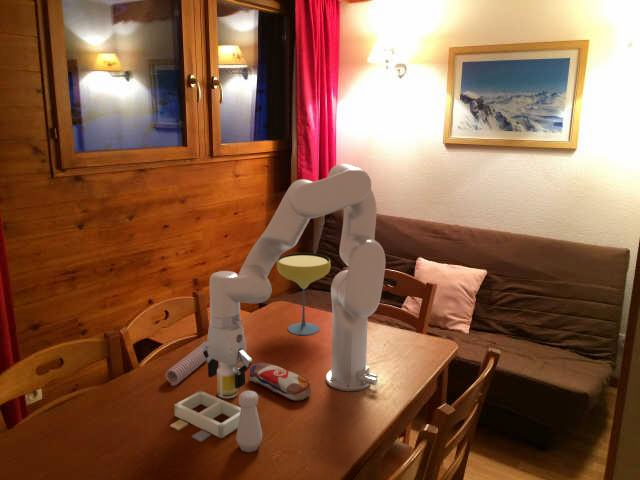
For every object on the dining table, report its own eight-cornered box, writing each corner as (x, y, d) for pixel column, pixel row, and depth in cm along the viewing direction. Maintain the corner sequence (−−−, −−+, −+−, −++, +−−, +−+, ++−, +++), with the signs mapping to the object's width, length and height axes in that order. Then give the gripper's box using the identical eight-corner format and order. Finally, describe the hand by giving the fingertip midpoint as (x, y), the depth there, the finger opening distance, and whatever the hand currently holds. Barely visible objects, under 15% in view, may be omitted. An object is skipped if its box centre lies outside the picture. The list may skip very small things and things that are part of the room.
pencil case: (279, 410, 133) (279, 392, 132) (244, 379, 148) (244, 362, 147) (316, 398, 139) (316, 381, 138) (279, 369, 155) (278, 353, 153)
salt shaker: (237, 439, 120) (235, 387, 117) (262, 438, 121) (261, 386, 118) (235, 455, 115) (234, 401, 112) (262, 454, 115) (261, 400, 112)
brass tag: (188, 425, 126) (188, 423, 126) (178, 430, 123) (178, 429, 123) (180, 420, 127) (179, 419, 127) (170, 426, 125) (170, 425, 125)
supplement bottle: (242, 392, 141) (241, 358, 139) (228, 401, 136) (227, 366, 134) (227, 386, 144) (226, 353, 141) (213, 395, 139) (211, 361, 137)
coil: (178, 373, 142) (212, 346, 159) (163, 368, 144) (198, 342, 160) (178, 388, 144) (211, 360, 160) (163, 384, 145) (197, 356, 162)
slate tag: (210, 435, 122) (210, 434, 121) (201, 442, 119) (200, 440, 119) (201, 431, 123) (201, 429, 123) (191, 437, 121) (191, 436, 121)
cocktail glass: (337, 324, 188) (338, 256, 182) (316, 343, 172) (317, 269, 166) (292, 316, 195) (292, 250, 189) (267, 334, 179) (266, 262, 173)
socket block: (247, 421, 127) (246, 410, 127) (221, 438, 121) (221, 426, 120) (200, 401, 136) (200, 390, 136) (174, 415, 129) (174, 404, 129)
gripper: (260, 323, 134) (260, 385, 137) (212, 308, 143) (213, 366, 147) (240, 332, 127) (240, 396, 131) (190, 316, 137) (192, 376, 141)
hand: (226, 380), depth 139 cm, fingers open, 9 cm apart
